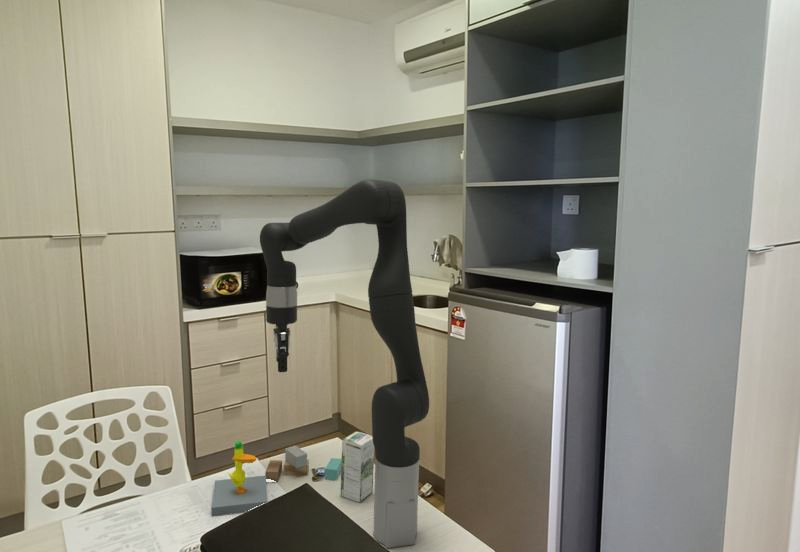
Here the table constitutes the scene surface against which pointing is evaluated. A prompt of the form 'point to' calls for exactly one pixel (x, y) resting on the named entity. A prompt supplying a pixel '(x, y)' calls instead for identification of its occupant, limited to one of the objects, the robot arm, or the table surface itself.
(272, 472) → the walnut brick
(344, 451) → the syrup box
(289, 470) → the oak brick
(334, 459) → the teal brick
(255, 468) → the table surface
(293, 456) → the grey brick
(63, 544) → the table surface
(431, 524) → the table surface
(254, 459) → the toy figure
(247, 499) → the slate stand
